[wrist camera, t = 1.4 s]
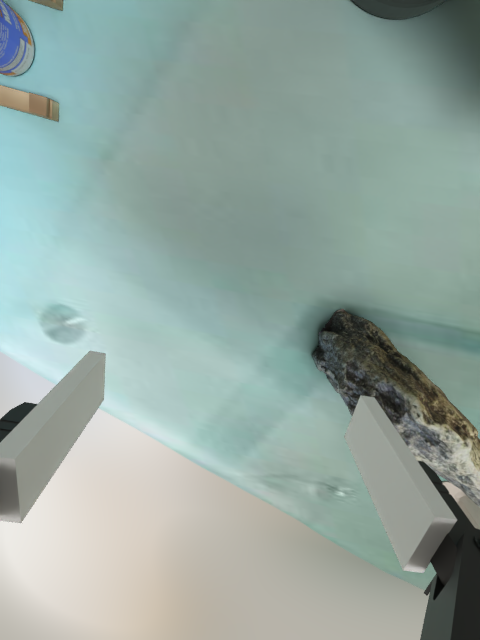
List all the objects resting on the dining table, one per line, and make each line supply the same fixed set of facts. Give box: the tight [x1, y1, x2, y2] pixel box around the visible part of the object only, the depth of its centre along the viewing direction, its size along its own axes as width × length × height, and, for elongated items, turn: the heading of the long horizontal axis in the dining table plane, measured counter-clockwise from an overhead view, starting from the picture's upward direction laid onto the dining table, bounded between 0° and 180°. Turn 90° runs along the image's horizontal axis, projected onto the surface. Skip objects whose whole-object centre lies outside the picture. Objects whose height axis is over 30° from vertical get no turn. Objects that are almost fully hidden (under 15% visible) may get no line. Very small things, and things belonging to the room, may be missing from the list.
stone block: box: [312, 309, 480, 507], centre depth 33 cm, size 18×9×20 cm, turn 47°
